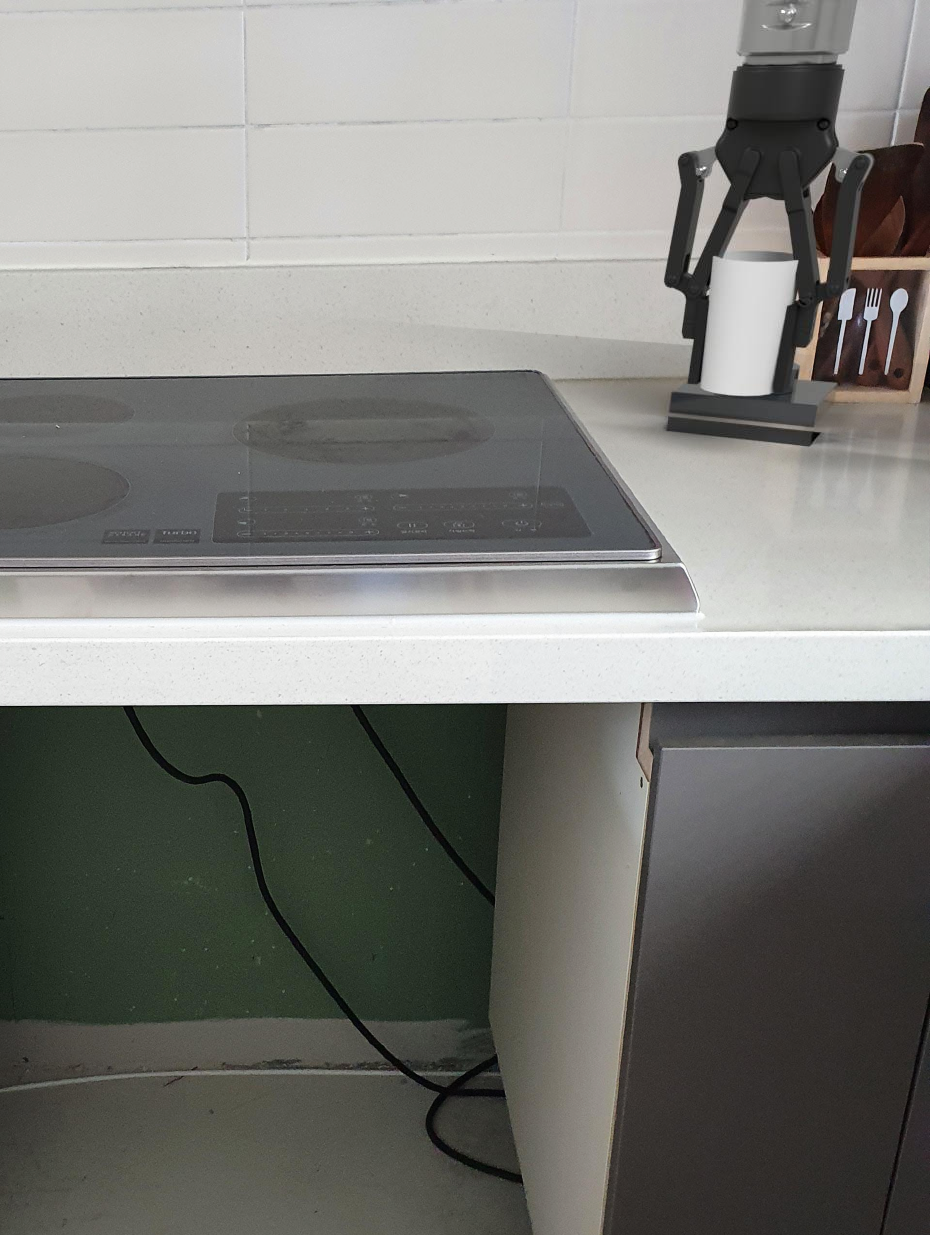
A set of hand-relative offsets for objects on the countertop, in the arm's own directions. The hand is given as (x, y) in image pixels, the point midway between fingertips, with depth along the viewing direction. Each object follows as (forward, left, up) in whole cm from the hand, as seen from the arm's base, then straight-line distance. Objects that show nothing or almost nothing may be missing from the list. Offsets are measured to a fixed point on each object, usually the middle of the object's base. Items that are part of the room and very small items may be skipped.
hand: (738, 384), depth 107 cm
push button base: (+1, -13, -6) cm, 14 cm away
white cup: (0, 0, 0) cm, 0 cm away
